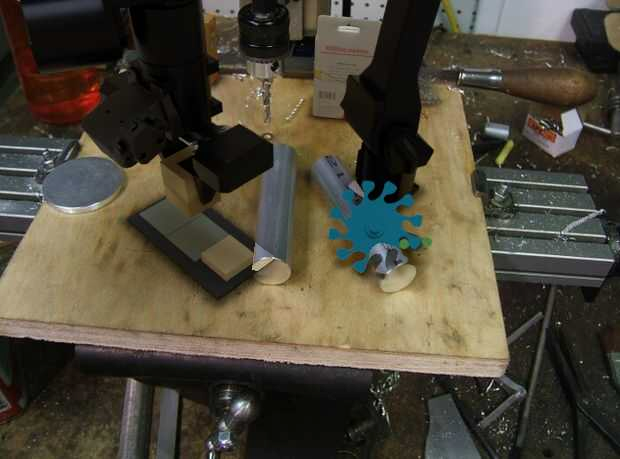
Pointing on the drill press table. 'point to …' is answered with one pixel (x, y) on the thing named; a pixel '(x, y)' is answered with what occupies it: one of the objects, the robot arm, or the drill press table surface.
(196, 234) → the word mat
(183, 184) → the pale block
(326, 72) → the ink cartridge box
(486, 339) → the drill press table surface
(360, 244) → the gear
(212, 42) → the supplement box
